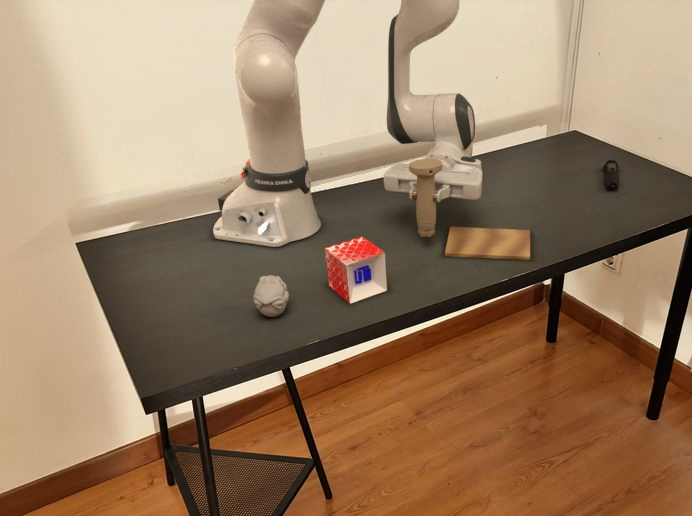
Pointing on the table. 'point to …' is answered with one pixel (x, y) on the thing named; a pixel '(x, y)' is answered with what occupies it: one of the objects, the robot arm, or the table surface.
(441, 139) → the robot arm
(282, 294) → the frog figurine
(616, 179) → the electric trimmer
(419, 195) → the handle
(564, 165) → the table surface
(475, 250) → the oak board
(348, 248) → the red and white cube
